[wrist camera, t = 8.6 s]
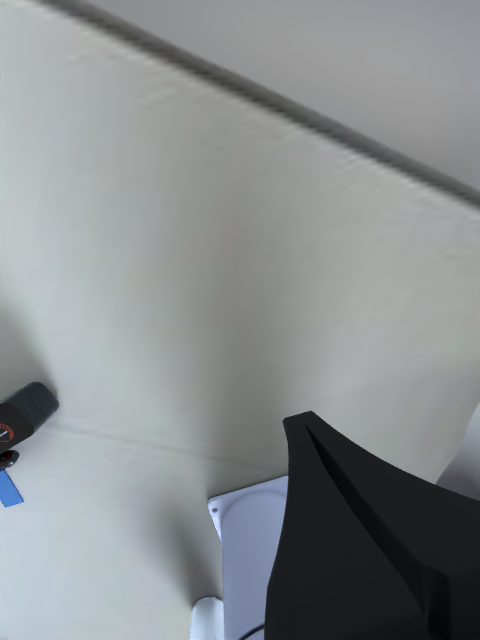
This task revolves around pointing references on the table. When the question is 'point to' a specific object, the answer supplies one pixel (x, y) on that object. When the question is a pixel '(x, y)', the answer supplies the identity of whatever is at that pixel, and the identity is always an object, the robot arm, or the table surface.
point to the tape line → (8, 491)
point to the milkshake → (207, 620)
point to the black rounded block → (23, 418)
